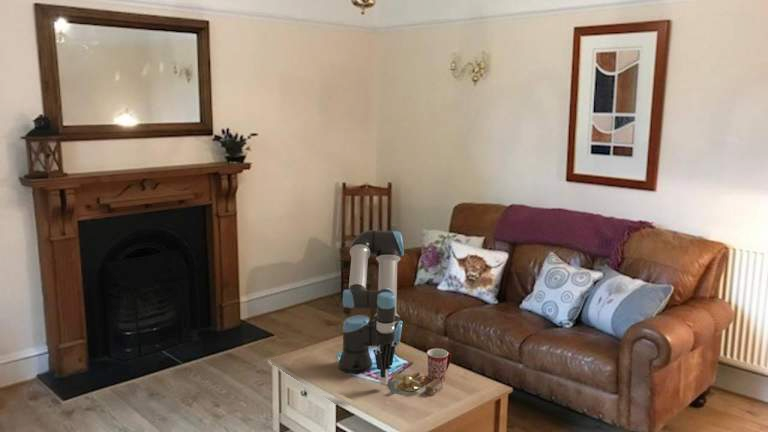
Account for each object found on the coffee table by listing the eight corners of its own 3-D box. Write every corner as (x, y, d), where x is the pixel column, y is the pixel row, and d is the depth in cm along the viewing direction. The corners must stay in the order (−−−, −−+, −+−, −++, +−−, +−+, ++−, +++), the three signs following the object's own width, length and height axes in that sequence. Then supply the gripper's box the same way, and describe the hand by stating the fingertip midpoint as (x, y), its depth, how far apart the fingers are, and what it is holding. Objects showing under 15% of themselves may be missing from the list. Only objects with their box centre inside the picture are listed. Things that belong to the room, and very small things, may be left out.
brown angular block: (425, 396, 264) (425, 385, 263) (436, 389, 270) (436, 378, 269) (434, 400, 261) (434, 388, 260) (444, 392, 267) (445, 381, 266)
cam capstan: (380, 387, 268) (380, 372, 266) (402, 374, 280) (403, 359, 279) (412, 399, 258) (412, 384, 256) (433, 385, 270) (434, 370, 269)
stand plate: (380, 390, 268) (380, 387, 268) (402, 377, 280) (402, 374, 280) (411, 402, 258) (411, 399, 258) (433, 388, 271) (433, 385, 270)
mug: (436, 388, 271) (437, 359, 268) (421, 380, 278) (422, 351, 275) (457, 380, 279) (458, 351, 276) (442, 372, 286) (443, 344, 283)
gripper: (383, 337, 254) (381, 391, 258) (402, 327, 264) (400, 380, 269) (368, 332, 258) (367, 386, 263) (387, 323, 268) (386, 375, 273)
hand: (384, 383), depth 266 cm, fingers closed
